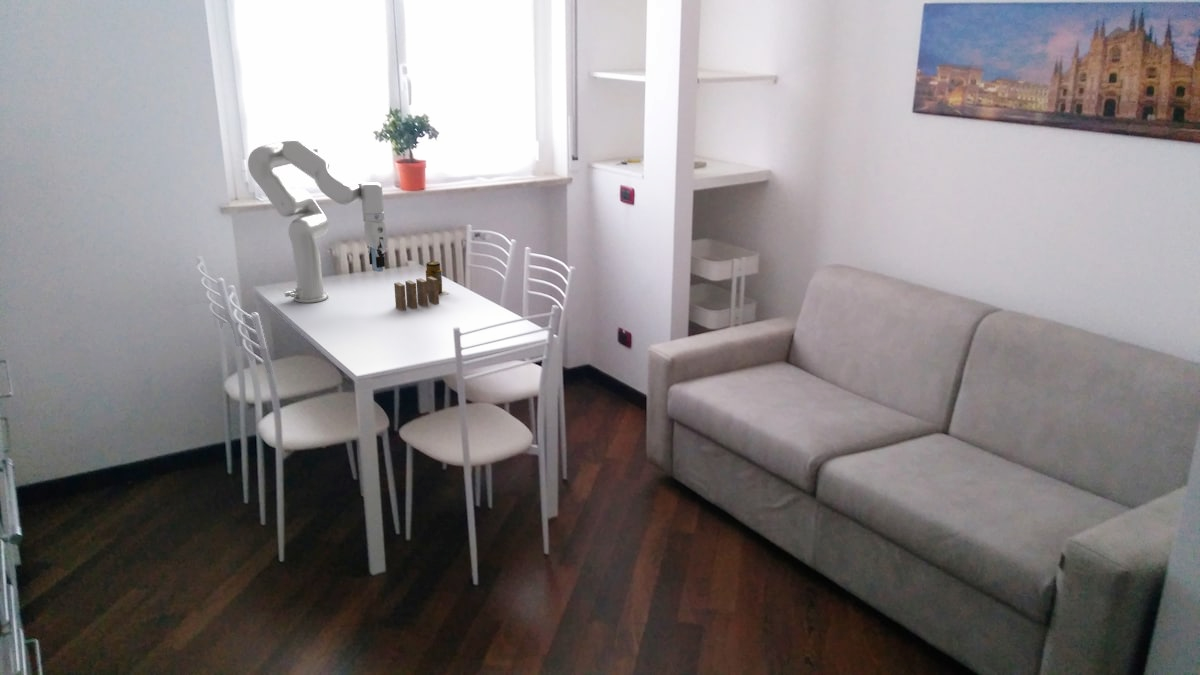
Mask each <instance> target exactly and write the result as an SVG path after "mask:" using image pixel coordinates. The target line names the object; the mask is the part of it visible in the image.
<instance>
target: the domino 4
mask: <svg viewBox="0 0 1200 675" xmlns="http://www.w3.org/2000/svg"><path fill="white" fill-rule="evenodd" d="M415 280H416V281H415V283H416V293H417V305H420V306H423V307H428V306H429V301H428V292H427V281H426V279H423V278H417V279H415Z"/></svg>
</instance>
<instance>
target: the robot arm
mask: <svg viewBox="0 0 1200 675" xmlns="http://www.w3.org/2000/svg"><path fill="white" fill-rule="evenodd" d="M247 160H248V161H247V167H248V171H249V173H250V176H251V177H252V179H253V180H254V181H255V182H256V184H257V185H258V187H259V188H260V189H261V190H262V192H263V193H264V194H265V196H266V198H267V199H268V201H269V202H270V203H271V205H272V206H273V208H274V209H275V210H276V212H277V213H278V214H279V216H281V217H282V218H284V219H286V218H288V219H289V218H293V217H296V216H298V217H296V218H295V219H293V220H292V221H291V222H290V223H289V226H288V232H287V233H288V236H289V240H290V243H291V248H292V254H293V260H294V261H293V263H294V270H295V280H296V287H294V289H293V290H290V291H284V296H285V298H287V297H290V298H293V300H294V301H296V302H297V303H298V302H299V303H302V304H303V303H306V304H309V303H318V302H323V301H325V300H327V299H328V298H329V293H328V292H326V291H324V284H323V273H322V262H321V261H322V260H321V253H320V248H319V246H318V244H317V242H316V240H317V239H319V238H321V237H323V236H325V235H327V233H328V232H329V229H330V224H329V223H330V222H329V219H328V217H327V216H326V215H325V212H323V210H322V209H321V207H320V206H319V204H318V203H317V201H316V200H315V198H314V197H313V196H312V195H311V194H310V192H308V191H307V190H305V189H303V188H293V189H292V188H290V187H289V185H288V184H287V182H286V181H285V179H284V178H283V177H282V176H281V175H279V174H278V173H277V172H276V171H275V170H274V169H275V168H278V167H282V166H286V165H292V166H294V167H295V168H297V169H299V170H300V171H301V172H303V173H304V174H306V175H307V176H308V177H310V178H312V179H313V180H314V183H315V184H316V186H317V187H318V189H319V191H320V192H321V193H323V194H324V195H325V196H326V197H327V198H329V199H331V200H332V201H334V202H335V203H337V204H339V205H341V206H342V205H343V206H348V205H351V204H354V203H357V202H361V207H362V208H361V209H362V210H361V211H362V222H364V225H363V227H364V232H363V233H364V243H365V245H366V247H367V249H368V250H367V252H368V260H369V262H368V263H369V265H372V254H371V247H372V248H374V249H375V250H376V256H377V257H376V267H377V268H379V267H383V268H384V267H386V260H385V258H386V256H385V255H386V254H385V253H386V252H387V248H389V245H388V244H389V243H388V234H387V228H386V223H385V211H384V196H383V186H382V184H381V183H379V182H377V181H376V182H373V181H371V182H369V181H368V182H366V181H363V180H351V181H348V182H344V183H343V182H341V181H339V180H338V179H337V178H335V177H334V176H332V175H331V174H330V172H329V169H330V168H329V167H330V162H329V160H327V159H326V158H325V157H323V156H322V155H320V154H319V153H318V146H317V144H316V142H314V140H312V139H310V138H307V137H300V138H295V139H291V140H287V141H279V142H276V143H275V142H274V143H270V144H265V145H260V146H258V147H257V148H255V149H253V150H252V151H251V152H250V154H249V155H248V159H247ZM378 247H381V248H378ZM378 250H381V251H379V252H378Z"/></svg>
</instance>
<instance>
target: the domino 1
mask: <svg viewBox="0 0 1200 675" xmlns="http://www.w3.org/2000/svg"><path fill="white" fill-rule="evenodd" d="M378 248H381V247H378ZM379 251H381V250H378V252H379ZM371 254H372V266H371V267H372V270H374V271H376V272H378V273H379V272H383V271H384V267H379V268H377V267H376V257H377V256H376V250H375V249H374V248H372V247H371Z"/></svg>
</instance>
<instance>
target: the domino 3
mask: <svg viewBox="0 0 1200 675" xmlns="http://www.w3.org/2000/svg"><path fill="white" fill-rule="evenodd" d="M405 297H406V307H409V308H411V309H417V308H418V298H417V282H415V281H413V280H411V279H410V280H409V279H408V280H405Z"/></svg>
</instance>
